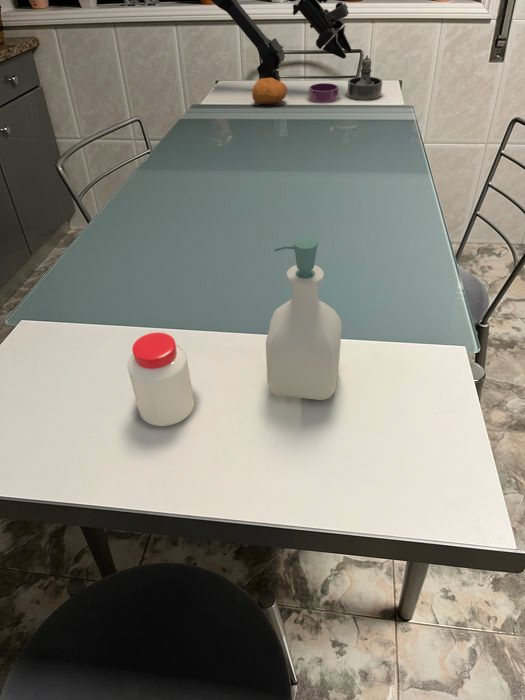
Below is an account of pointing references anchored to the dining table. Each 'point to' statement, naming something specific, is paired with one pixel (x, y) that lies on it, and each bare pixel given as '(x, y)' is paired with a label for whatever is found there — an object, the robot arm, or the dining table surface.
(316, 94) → the plum bowl
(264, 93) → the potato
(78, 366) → the dining table surface
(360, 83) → the salt shaker
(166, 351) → the pill bottle
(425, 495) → the dining table surface
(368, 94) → the charcoal bowl
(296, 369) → the soap bottle
